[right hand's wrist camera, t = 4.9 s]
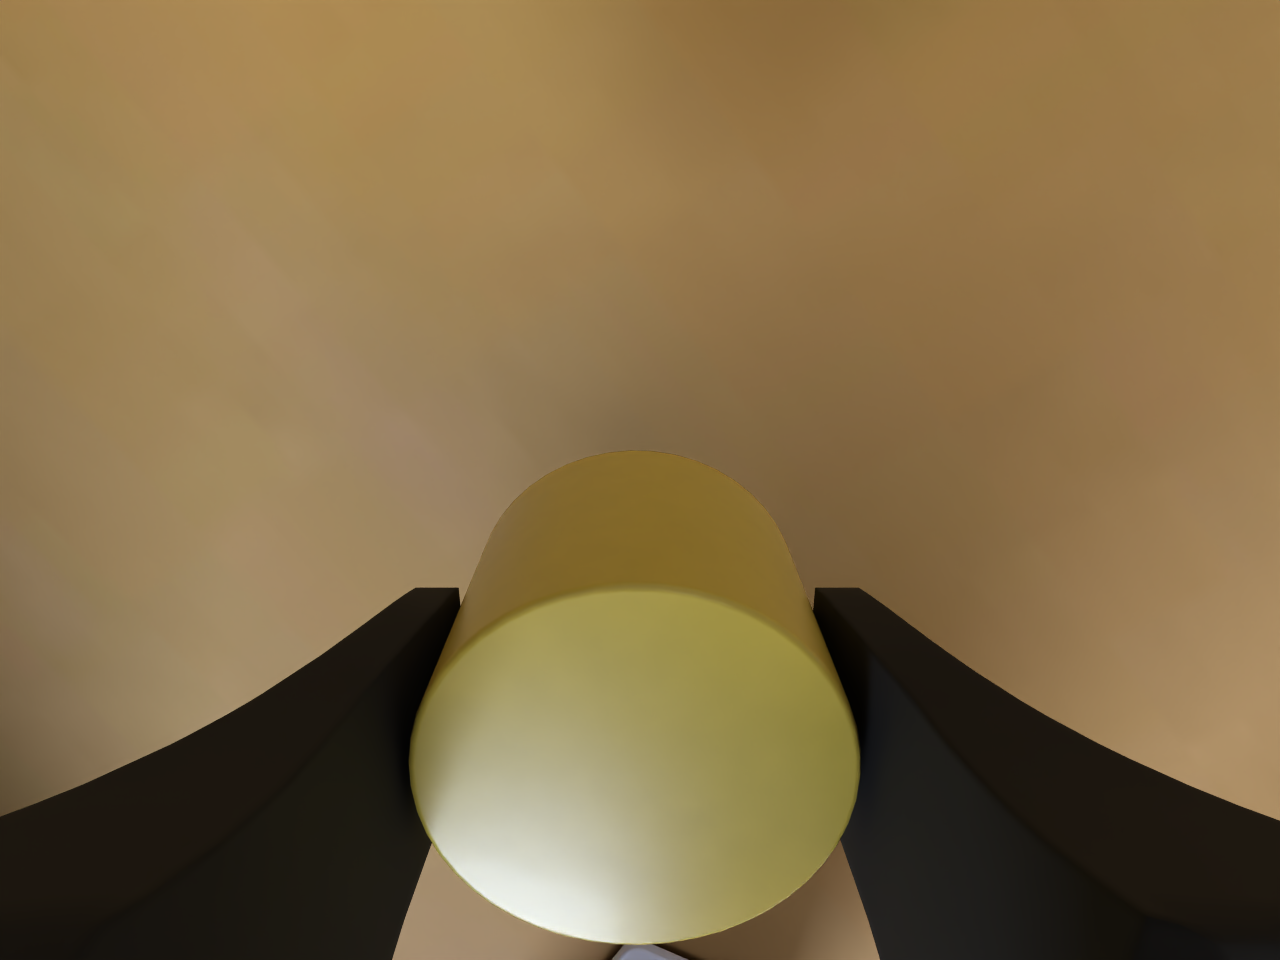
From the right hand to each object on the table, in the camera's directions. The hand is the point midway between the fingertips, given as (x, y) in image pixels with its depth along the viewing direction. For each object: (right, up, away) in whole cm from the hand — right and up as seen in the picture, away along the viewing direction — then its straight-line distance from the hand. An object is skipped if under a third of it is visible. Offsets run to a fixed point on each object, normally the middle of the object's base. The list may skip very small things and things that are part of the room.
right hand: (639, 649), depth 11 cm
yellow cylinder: (0, +1, +1) cm, 1 cm away
